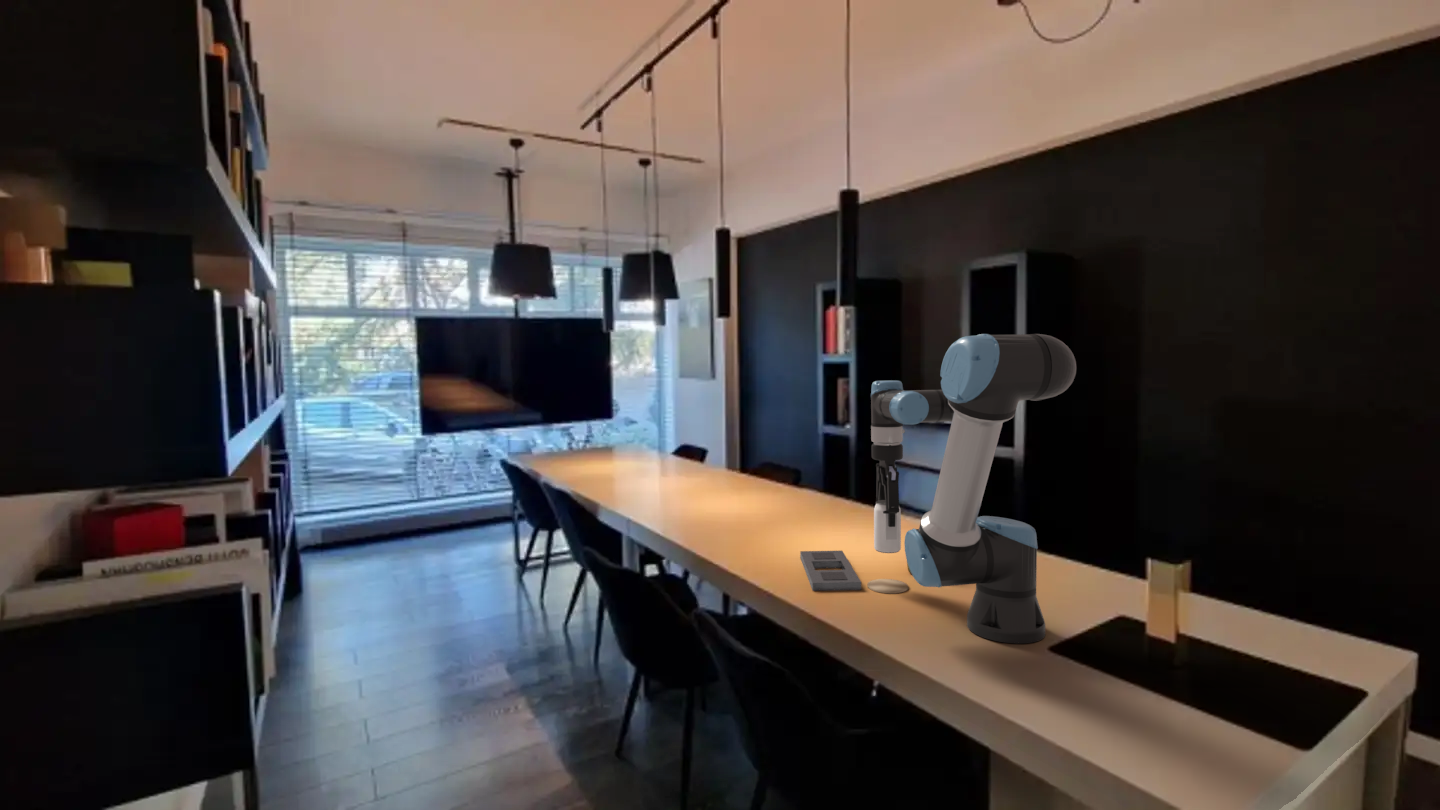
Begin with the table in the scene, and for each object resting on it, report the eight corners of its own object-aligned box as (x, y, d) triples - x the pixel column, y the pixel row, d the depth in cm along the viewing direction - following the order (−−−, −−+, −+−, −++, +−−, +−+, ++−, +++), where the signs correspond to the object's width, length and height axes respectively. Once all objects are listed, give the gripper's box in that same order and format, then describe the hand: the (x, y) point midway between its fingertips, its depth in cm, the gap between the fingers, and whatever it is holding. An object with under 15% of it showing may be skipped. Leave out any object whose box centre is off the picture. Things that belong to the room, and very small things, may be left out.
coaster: (913, 593, 167) (913, 591, 167) (871, 594, 168) (871, 592, 167) (902, 580, 177) (902, 578, 177) (863, 580, 177) (863, 579, 177)
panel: (861, 590, 171) (861, 581, 170) (812, 590, 171) (812, 582, 171) (842, 557, 198) (842, 550, 198) (800, 558, 199) (800, 550, 198)
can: (871, 551, 171) (870, 503, 170) (877, 545, 176) (877, 498, 175) (897, 554, 168) (897, 506, 167) (903, 548, 173) (903, 500, 172)
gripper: (912, 448, 160) (913, 545, 162) (892, 438, 180) (892, 525, 181) (880, 448, 160) (880, 546, 162) (863, 438, 180) (864, 525, 181)
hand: (887, 535), depth 172 cm, fingers closed on can, 6 cm apart
